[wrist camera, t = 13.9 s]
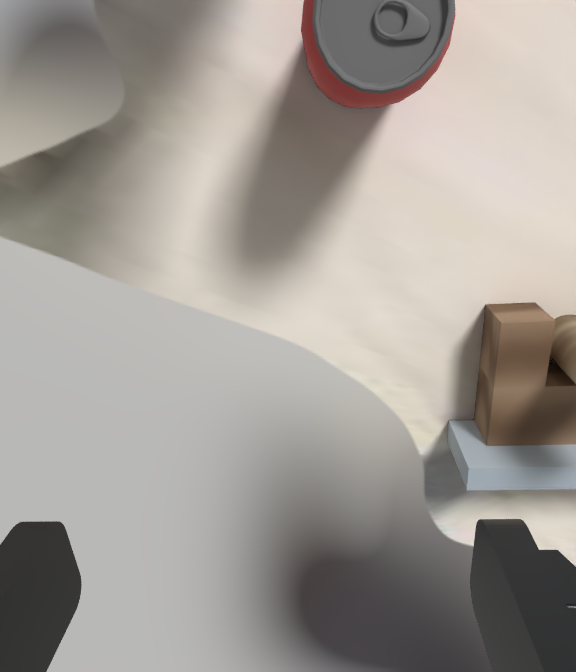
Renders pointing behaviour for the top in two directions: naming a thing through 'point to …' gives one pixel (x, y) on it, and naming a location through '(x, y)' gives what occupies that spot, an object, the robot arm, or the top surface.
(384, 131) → the top surface
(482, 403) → the block
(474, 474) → the wall
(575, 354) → the dowel
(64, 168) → the top surface
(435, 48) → the beer can
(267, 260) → the top surface
